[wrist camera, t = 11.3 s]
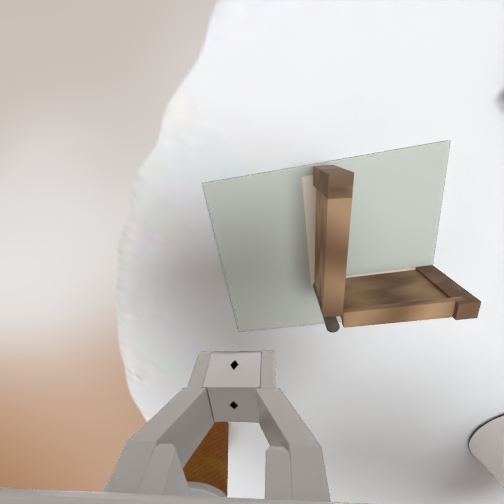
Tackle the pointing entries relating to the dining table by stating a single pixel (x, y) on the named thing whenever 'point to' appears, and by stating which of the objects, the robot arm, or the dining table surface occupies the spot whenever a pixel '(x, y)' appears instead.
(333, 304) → the hinged fence panel
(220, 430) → the disposable coffee cup
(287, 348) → the dining table surface
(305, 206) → the card
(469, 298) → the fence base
